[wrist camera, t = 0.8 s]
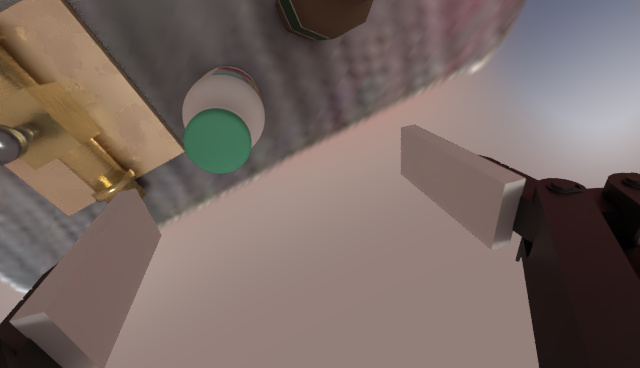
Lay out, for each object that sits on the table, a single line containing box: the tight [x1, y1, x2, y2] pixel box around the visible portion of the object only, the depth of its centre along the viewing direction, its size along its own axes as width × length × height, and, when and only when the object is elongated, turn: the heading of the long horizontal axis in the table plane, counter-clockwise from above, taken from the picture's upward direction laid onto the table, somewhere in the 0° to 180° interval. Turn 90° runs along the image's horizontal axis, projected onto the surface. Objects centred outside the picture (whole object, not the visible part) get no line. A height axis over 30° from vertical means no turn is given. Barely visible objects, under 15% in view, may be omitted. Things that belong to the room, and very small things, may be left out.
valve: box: [0, 0, 185, 216], centre depth 29 cm, size 24×18×10 cm
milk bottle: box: [182, 66, 265, 174], centre depth 28 cm, size 8×8×20 cm
